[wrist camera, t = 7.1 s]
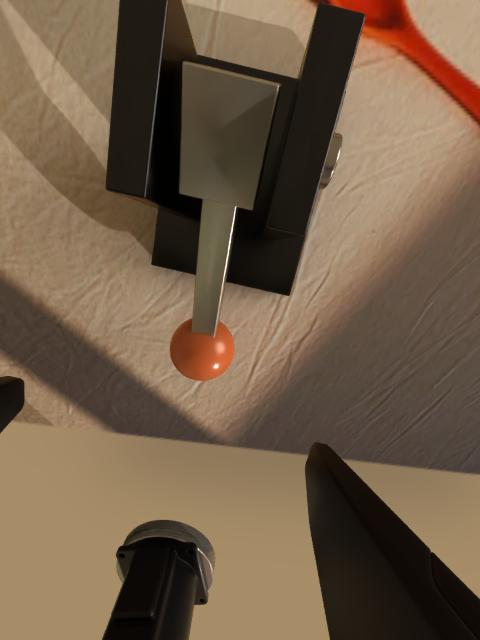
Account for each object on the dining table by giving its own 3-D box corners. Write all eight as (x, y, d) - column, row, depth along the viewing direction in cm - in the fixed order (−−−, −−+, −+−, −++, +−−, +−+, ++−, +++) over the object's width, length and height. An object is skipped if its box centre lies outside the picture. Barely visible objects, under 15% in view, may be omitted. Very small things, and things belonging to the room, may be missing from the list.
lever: (233, 352, 16) (223, 399, 14) (179, 340, 16) (160, 385, 14) (298, 88, 8) (303, 90, 6) (192, 62, 8) (151, 53, 6)
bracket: (287, 293, 16) (329, 353, 7) (156, 263, 16) (40, 288, 7) (339, 101, 14) (506, -168, 5) (183, 63, 14) (50, -288, 5)
